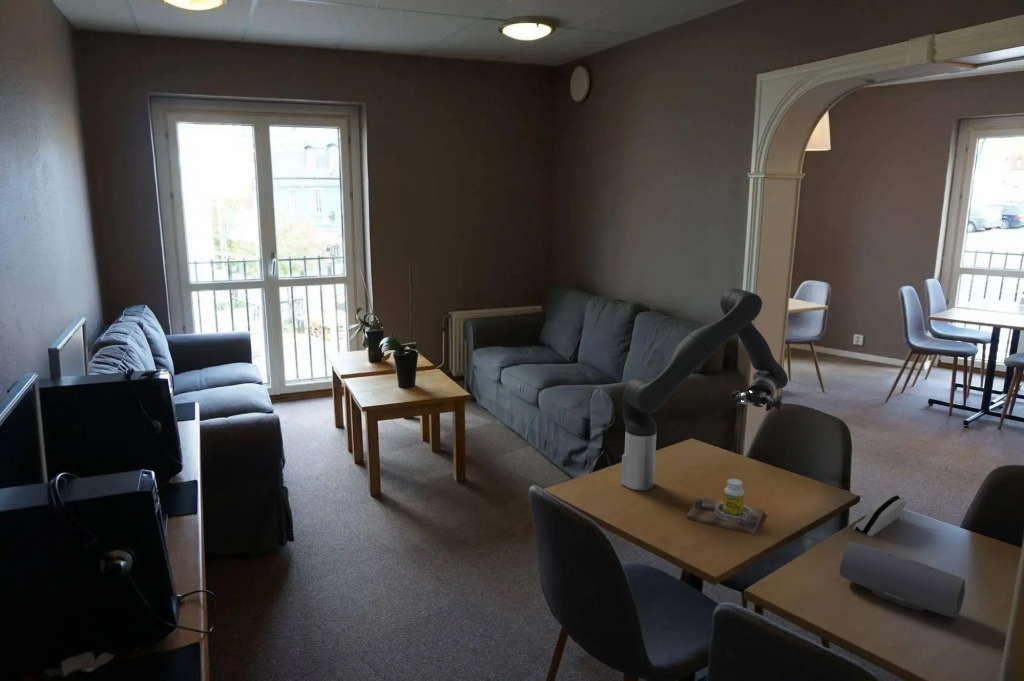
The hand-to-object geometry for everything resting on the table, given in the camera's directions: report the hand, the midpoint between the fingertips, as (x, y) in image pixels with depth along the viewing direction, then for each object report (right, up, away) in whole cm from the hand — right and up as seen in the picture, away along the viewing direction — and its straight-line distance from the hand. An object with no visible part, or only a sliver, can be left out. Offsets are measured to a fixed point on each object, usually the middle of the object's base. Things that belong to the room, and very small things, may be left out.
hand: (751, 405), depth 197 cm
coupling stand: (-10, -30, -7) cm, 32 cm away
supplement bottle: (-8, -29, -8) cm, 32 cm away
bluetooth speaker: (+16, -39, -45) cm, 62 cm away
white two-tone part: (+31, -32, -12) cm, 46 cm away
